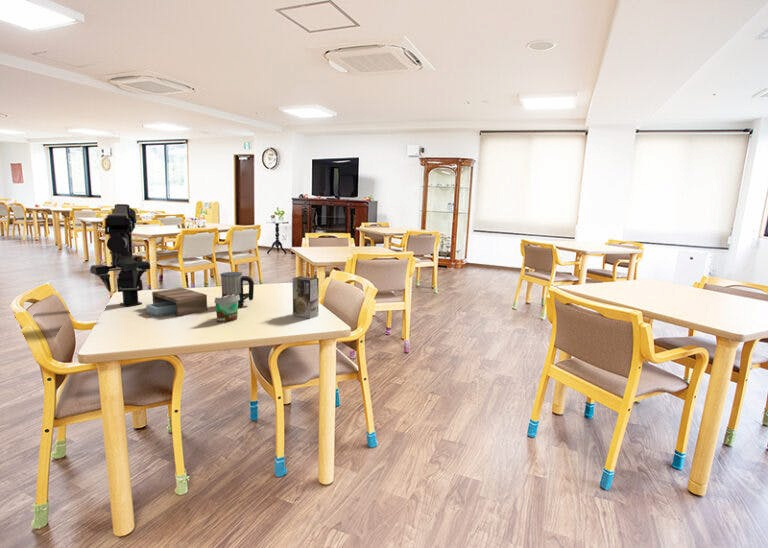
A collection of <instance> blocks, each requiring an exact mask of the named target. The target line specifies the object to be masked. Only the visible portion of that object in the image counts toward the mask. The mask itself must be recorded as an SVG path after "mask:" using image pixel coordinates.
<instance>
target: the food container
mask: <svg viewBox="0 0 768 548" xmlns="http://www.w3.org/2000/svg"><path fill="white" fill-rule="evenodd" d="M239 300H240V297H239V295H238V293H237V292H231V294H230V295H225V296H223V297H222V296H221V297H215V298H214V304H215V311H216V322H217V323H230V322H234V321H237V320H238V310H239V308H238V301H239Z"/></svg>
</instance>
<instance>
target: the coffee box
mask: <svg viewBox="0 0 768 548" xmlns="http://www.w3.org/2000/svg"><path fill="white" fill-rule="evenodd" d="M319 279H320V278H319V277H313V276H306V275H305V276H303V275H299V276H296V277H293V278H292V316H293V315H295V316H294V317H299V316H300V317H301V318H304V319H305V318H306V319H312V318H315V317H317V316H319Z"/></svg>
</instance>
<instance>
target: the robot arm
mask: <svg viewBox="0 0 768 548" xmlns="http://www.w3.org/2000/svg"><path fill="white" fill-rule="evenodd" d="M137 217H138V216H137V213H136V211H135V210H134V209H133V208H132V207H130V204H126V203H124V204H123V203H120V204H119V203H117V204H114V209H113V210H111V213H109V214H107V215H106V217H105V220H104V234H105V235H110V236H109V238H108V239H107V241H106V247H107V249H108V250H109V255H111V261H110V265H109V266H108V265H106V264H102V263H101V264H94V265H91V266H90V268H89V271H90V274H93V275H95V276H97V277H99V278H100V280H101V281H102V283H103V284H104V286H105V288H106V290H107V292H108V293H111V292H112V287H111V282H110V280H111V279H110V277H111V274H110V272H112V271H120V272H119V273H118V274H117V276H118V277H117V278H116V285H117V291H118V293H121V292H122V293H121V294H122V302H120V303H119V305H122V306H123V307H132V306H138V305H139V306H140V305H142V304H143V303H142V302H141V301H139V292H141V291H143V290H144V288H143V287H144V285H143V280H142V279H141V277H142V276H143V274H144V273H146V272H147V271H148V270H151V264H150V262H149V261H146V260H143V257H142V256H140V255H139V256H135V257H134V253H133V235H132V233H133V231H134V230H135V228H136V224H138V223H137V222H138V221H137V219H138V218H137Z"/></svg>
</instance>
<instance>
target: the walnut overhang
mask: <svg viewBox="0 0 768 548" xmlns="http://www.w3.org/2000/svg"><path fill="white" fill-rule="evenodd" d="M151 294H152V295H151V296H152V304H154V303H160V302H165V301H172V302H175V303H176V313H175V314H176V317H179V318H181V317H184V316H190V315H193V314H198V313H202V312H207V311H208V297H207V294H205V293H202V292H199V291H194V290H192V289H189V288H188V289H187V288H185V287H182V286H181V287H174V288H167V289H161V290H155V291H152V292H151Z"/></svg>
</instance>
